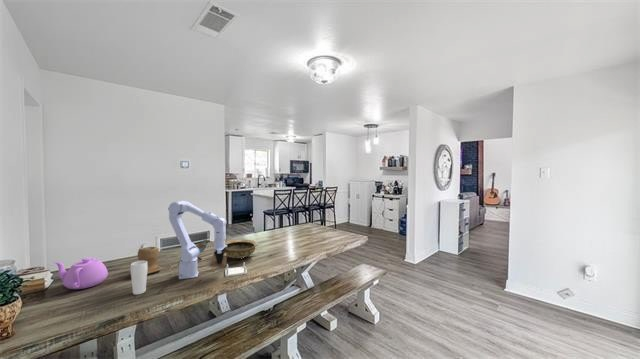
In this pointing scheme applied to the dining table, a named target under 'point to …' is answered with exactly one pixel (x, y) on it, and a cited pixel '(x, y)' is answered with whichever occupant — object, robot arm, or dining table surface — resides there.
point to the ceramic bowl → (240, 248)
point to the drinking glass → (139, 276)
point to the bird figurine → (202, 247)
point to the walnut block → (217, 263)
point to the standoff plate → (235, 271)
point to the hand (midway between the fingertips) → (219, 261)
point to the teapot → (83, 273)
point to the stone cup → (150, 258)
